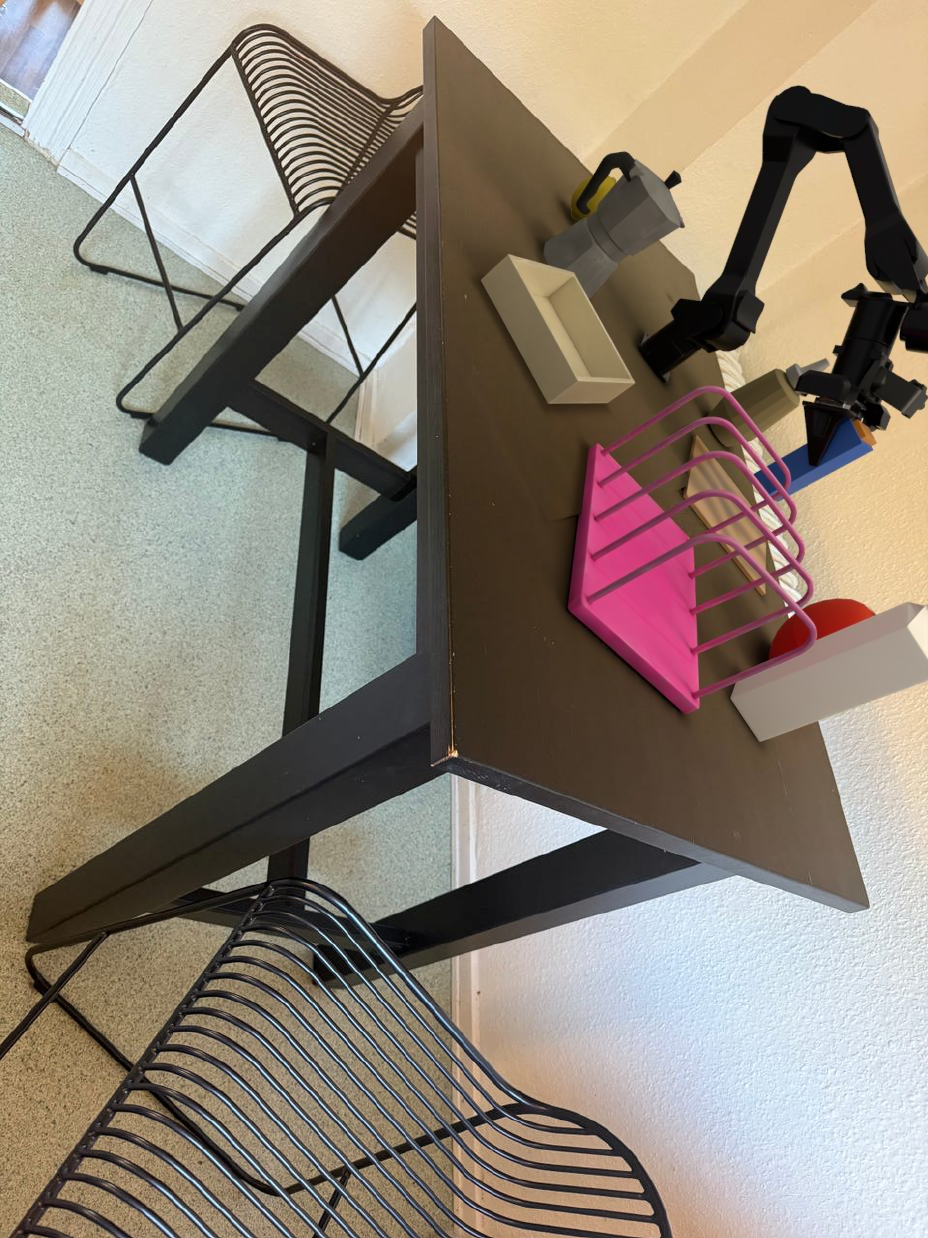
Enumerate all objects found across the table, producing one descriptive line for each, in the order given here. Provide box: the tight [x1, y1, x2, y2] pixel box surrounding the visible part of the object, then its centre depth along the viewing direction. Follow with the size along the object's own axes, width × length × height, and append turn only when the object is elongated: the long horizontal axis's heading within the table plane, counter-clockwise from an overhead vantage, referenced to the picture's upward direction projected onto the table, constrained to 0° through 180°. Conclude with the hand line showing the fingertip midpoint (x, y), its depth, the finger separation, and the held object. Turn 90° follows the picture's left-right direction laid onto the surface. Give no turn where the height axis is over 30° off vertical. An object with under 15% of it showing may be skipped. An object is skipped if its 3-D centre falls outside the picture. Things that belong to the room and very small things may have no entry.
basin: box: [480, 253, 636, 405], centre depth 92 cm, size 15×15×5 cm
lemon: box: [570, 174, 618, 221], centre depth 119 cm, size 6×6×8 cm
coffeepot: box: [543, 151, 686, 300], centre depth 102 cm, size 15×9×18 cm, turn 103°
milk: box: [729, 601, 928, 743], centre depth 84 cm, size 6×6×22 cm
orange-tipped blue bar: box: [753, 419, 878, 503], centre depth 105 cm, size 4×5×14 cm
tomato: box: [768, 597, 877, 661], centre depth 96 cm, size 13×11×14 cm
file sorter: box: [567, 385, 817, 715], centre depth 79 cm, size 17×25×16 cm
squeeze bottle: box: [707, 357, 831, 448], centre depth 122 cm, size 8×8×18 cm
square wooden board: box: [682, 434, 767, 597], centre depth 113 cm, size 18×18×1 cm
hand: (819, 469), depth 104 cm, fingers closed on orange-tipped blue bar, 5 cm apart
